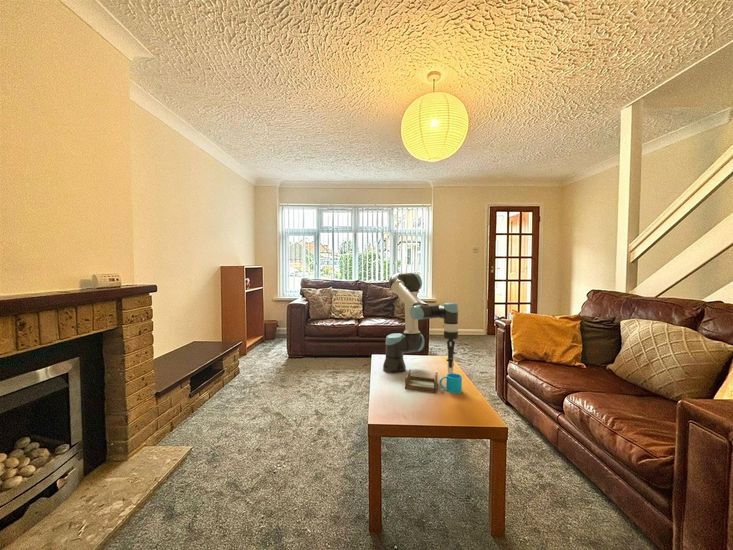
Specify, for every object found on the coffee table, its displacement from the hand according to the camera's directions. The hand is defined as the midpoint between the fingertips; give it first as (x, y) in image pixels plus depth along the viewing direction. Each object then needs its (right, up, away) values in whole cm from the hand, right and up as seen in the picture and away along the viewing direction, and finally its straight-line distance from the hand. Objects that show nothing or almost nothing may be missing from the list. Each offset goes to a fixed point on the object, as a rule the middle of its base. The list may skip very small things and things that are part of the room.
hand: (450, 369), depth 164 cm
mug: (0, -12, 0) cm, 12 cm away
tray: (-15, -12, +7) cm, 20 cm away
